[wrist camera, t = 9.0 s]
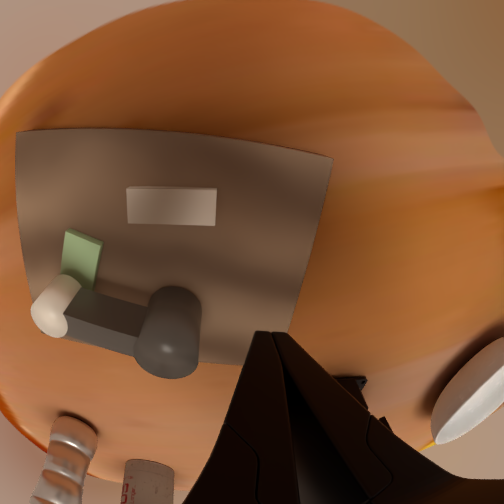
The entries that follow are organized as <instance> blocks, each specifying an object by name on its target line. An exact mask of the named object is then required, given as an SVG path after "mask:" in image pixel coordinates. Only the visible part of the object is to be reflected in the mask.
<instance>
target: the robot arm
mask: <svg viewBox="0 0 504 504" xmlns="http://www.w3.org/2000/svg"><path fill="white" fill-rule="evenodd" d="M366 382H367V379H366V377H351V378H335V379H334V378H333V377H332V376H331V375H330V374H329V373H327V372H326V371H325V370H324V369H323V368H322V367H321V366H320V365H319V364H318V363H317V362H316V361H315V360H314V359H313V358H312V357H311V356H310V355H309V354H308V353H307V352H306V351H305V350H304V349H303V348H302V347H301V346H300V345H299V344H298V343H297V342H296V341H295V340H294V339H293V338H292V337H291V336H290V335H289V334H288V333H286V332H277V331H273V332H269V331H260V330H256V331H255V332H254V335H253V338H252V341H251V344H250V347H249V350H248V353H247V356H246V359H245V362H244V365H243V368H242V371H241V374H240V377H239V380H238V383H237V385H236V388H235V391H234V394H233V397H232V400H231V403H230V406H229V408H228V411H227V414H226V417H225V420H224V423H223V425H222V428H221V430H220V433H219V436H218V439H217V441H216V443H215V446H214V448H213V451H212V453H211V455H210V457H209V459H208V461H207V463H206V465H205V467H204V468H203V470H202V472H201V474H200V476H199V477H198V479H197V481H196V482H195V484H194V486H193V487H192V489H191V490H190V492H189V494H188V495H187V497H186V499H185V500H184V502H183V503H182V504H504V479H499V480H498V479H491V480H490V479H467V478H462V477H458V476H455V475H453V474H451V473H449V472H447V471H446V470H444V469H442V468H441V467H439V466H438V465H436V464H435V463H434V462H432V461H431V460H429V459H428V458H426V457H425V456H423V455H422V454H420V453H419V452H418V451H416V450H415V449H413V448H412V447H411V446H409V445H408V444H407V443H405V442H404V441H403V440H401V439H400V438H399V437H397V436H396V435H395V434H394V433H393V431H392V429H391V428H390V426H389V424H388V422H387V420H386V418H385V416H384V417H381V418H379V420H378V419H377V418H376V417H374V416H373V415H370V412H369V411H368V406H367V404H366V401H365V399H364V397H363V395H362V392H361V390H362V389H363V387H364V386H365V384H366Z"/></svg>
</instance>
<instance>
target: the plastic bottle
mask: <svg viewBox="0 0 504 504" xmlns="http://www.w3.org/2000/svg"><path fill="white" fill-rule="evenodd" d="M96 449H97V436H96V434H95V432H94V430H93V429H92V428H91V427H90V426H88V425H87V424H85V423H84V422H82V421H80V420H78V419H76V418H73V417H70V416H61V417H59V418H57V419H56V421H55V422H54V424H53V425H52V427H51V432H50V443H49V447H48V451H47V457H46V461H45V464H44V467H43V471H42V472H41V475H40V478H39V481H38V483H37V485H36V487H35V489H34V491H33V493H32V496H31V499H30V504H82V494H83V486H84V479H85V477H86V474H87V471H88V468H89V465H90V461H91V460H92V458H93V457H94V454H95V452H96Z"/></svg>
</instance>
